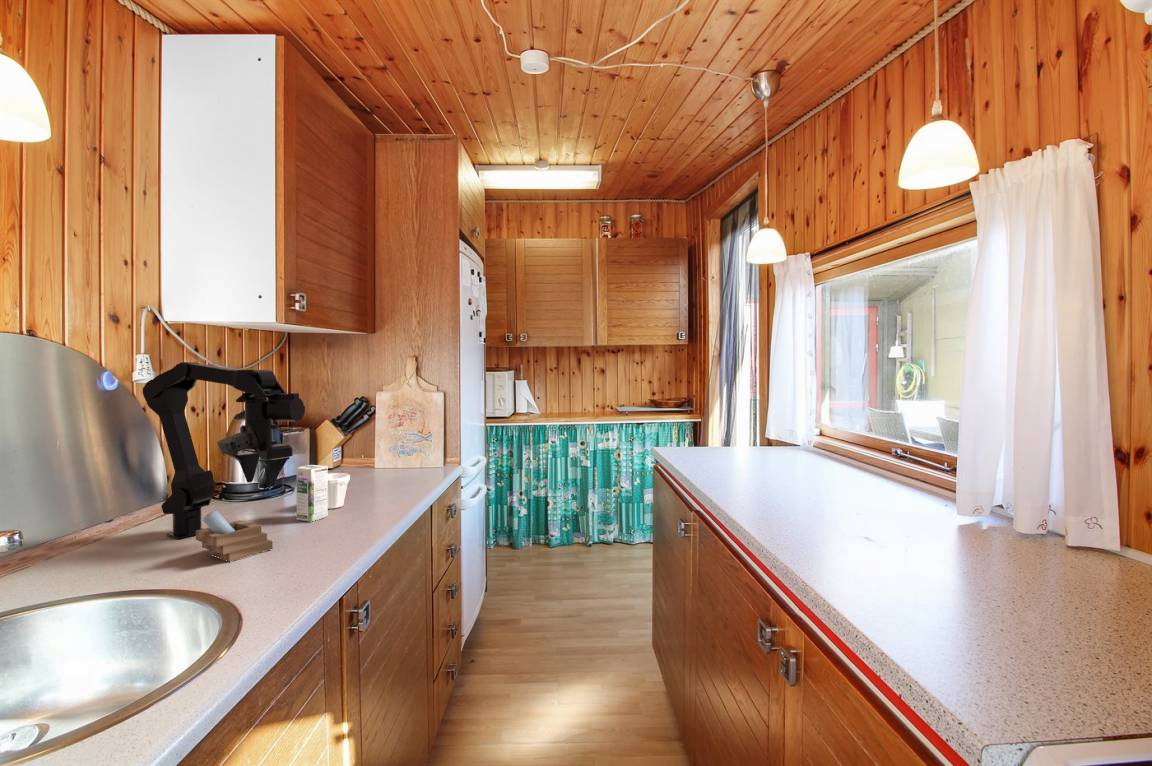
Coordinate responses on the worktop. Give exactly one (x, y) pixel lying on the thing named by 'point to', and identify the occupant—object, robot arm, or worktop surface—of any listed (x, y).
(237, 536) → the leaning socket
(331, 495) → the cup
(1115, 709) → the worktop surface
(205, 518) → the gray dowel
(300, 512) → the syrup box
